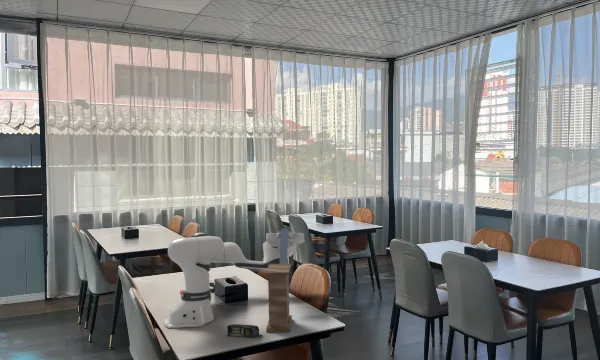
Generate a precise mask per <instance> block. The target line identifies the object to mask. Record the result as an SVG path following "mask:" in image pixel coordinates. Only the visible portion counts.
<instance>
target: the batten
mask: <svg viewBox="0 0 600 360" xmlns="http://www.w3.org/2000/svg"><path fill="white" fill-rule="evenodd" d="M280 232H281V242H280V264H288V257H287V252H288V232H289V228H280Z"/></svg>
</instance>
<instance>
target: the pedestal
mask: <svg viewBox="0 0 600 360" xmlns="http://www.w3.org/2000/svg"><path fill="white" fill-rule="evenodd" d="M291 268H292V264H291V263H287V264H269V266H268V268H267V270H266V271H265V272H264V273H265V276H267V281H268V287H267V288H268V321H267V325H266V328H265V330H266V333H290V331H291V327H292V321H293V315H292V314H290V281H289V280H290V278H289V277H290V275H289V274H290V271H291Z"/></svg>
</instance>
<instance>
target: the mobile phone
mask: <svg viewBox="0 0 600 360" xmlns="http://www.w3.org/2000/svg"><path fill="white" fill-rule="evenodd" d="M226 329H227V337H235V338H237V337H238V338H245V339H246V338H248V339H249V338H257V337H263V334H260V328H259V327H258V325H253V324H241V323H240V324H237V323H236V324H233V323H232V324H228V325H227V327H226Z"/></svg>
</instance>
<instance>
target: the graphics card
mask: <svg viewBox="0 0 600 360" xmlns="http://www.w3.org/2000/svg"><path fill="white" fill-rule="evenodd" d="M209 281H210V289H211V294H213V295H215V285H214V282H215V281H214V280H209Z"/></svg>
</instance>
